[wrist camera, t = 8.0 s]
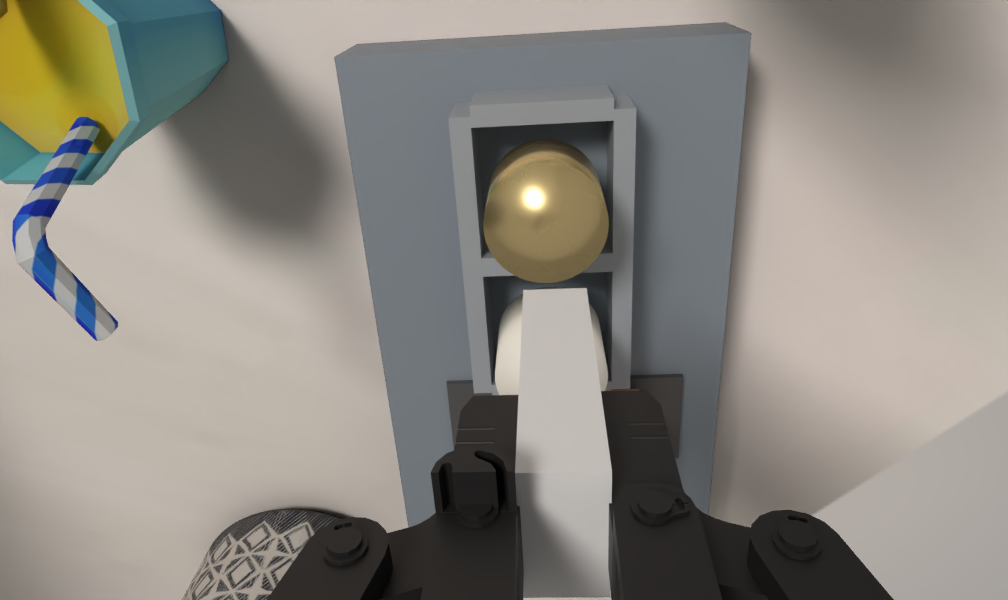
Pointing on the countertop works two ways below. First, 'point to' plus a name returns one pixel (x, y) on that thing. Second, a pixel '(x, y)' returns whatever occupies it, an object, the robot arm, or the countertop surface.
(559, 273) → the button brass
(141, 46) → the cup
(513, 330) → the button ivory
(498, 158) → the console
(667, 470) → the robot arm
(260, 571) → the planter
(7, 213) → the countertop surface
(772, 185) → the countertop surface
